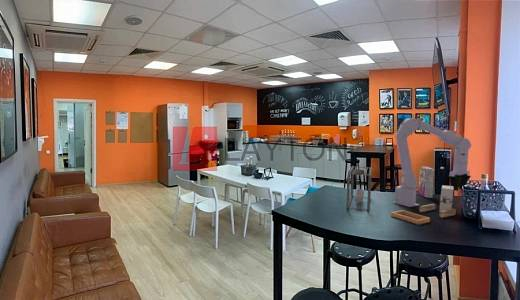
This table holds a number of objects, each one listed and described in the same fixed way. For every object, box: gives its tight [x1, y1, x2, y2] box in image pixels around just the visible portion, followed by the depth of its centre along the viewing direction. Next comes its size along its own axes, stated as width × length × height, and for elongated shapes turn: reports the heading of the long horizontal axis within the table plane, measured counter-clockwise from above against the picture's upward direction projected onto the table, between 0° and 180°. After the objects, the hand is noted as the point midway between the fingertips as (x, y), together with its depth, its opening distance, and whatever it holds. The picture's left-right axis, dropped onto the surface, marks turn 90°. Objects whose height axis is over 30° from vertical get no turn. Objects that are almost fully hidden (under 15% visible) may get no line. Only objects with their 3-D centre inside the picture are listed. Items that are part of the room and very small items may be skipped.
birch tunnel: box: [418, 203, 457, 218], centre depth 146 cm, size 11×11×2 cm
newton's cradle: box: [345, 165, 373, 212], centre depth 160 cm, size 30×10×18 cm, turn 160°
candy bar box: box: [418, 166, 435, 199], centre depth 180 cm, size 11×5×16 cm, turn 168°
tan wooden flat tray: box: [390, 209, 431, 226], centre depth 136 cm, size 13×8×2 cm, turn 30°
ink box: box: [439, 185, 454, 213], centre depth 149 cm, size 9×5×12 cm, turn 148°
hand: (458, 189), depth 154 cm, fingers open, 5 cm apart
